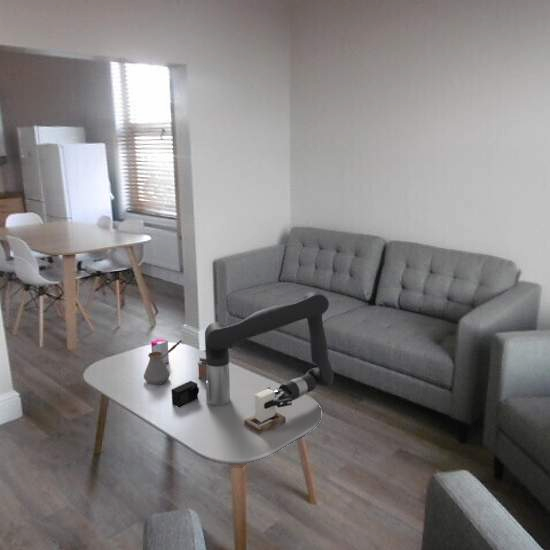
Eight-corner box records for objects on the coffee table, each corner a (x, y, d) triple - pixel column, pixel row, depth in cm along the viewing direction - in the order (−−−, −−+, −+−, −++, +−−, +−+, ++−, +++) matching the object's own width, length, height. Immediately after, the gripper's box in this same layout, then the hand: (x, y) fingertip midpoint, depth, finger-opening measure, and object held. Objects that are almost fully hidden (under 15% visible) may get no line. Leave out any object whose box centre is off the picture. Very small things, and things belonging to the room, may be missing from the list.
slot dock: (260, 434, 193) (260, 429, 192) (244, 424, 199) (244, 420, 198) (285, 421, 201) (285, 416, 201) (269, 412, 208) (269, 408, 207)
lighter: (216, 378, 237) (216, 357, 235) (213, 381, 234) (213, 360, 232) (200, 376, 239) (199, 355, 237) (197, 379, 236) (196, 358, 234)
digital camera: (180, 409, 211) (180, 393, 209) (172, 404, 214) (171, 389, 212) (200, 399, 218) (199, 384, 216) (191, 395, 222) (190, 380, 220)
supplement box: (169, 362, 254) (168, 340, 251) (160, 366, 249) (159, 344, 246) (160, 359, 257) (159, 337, 254) (151, 364, 252) (150, 341, 249)
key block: (255, 418, 198) (254, 394, 196) (268, 411, 203) (268, 388, 200) (261, 422, 196) (261, 397, 193) (274, 415, 201) (274, 391, 198)
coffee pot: (154, 389, 227) (153, 357, 223) (138, 381, 234) (136, 350, 230) (192, 372, 243) (190, 342, 239) (175, 366, 250) (174, 336, 246)
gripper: (281, 375, 212) (248, 388, 201) (306, 386, 202) (274, 402, 191) (281, 392, 214) (249, 406, 203) (306, 404, 204) (274, 420, 193)
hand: (261, 404), depth 197 cm, fingers closed on key block, 3 cm apart
